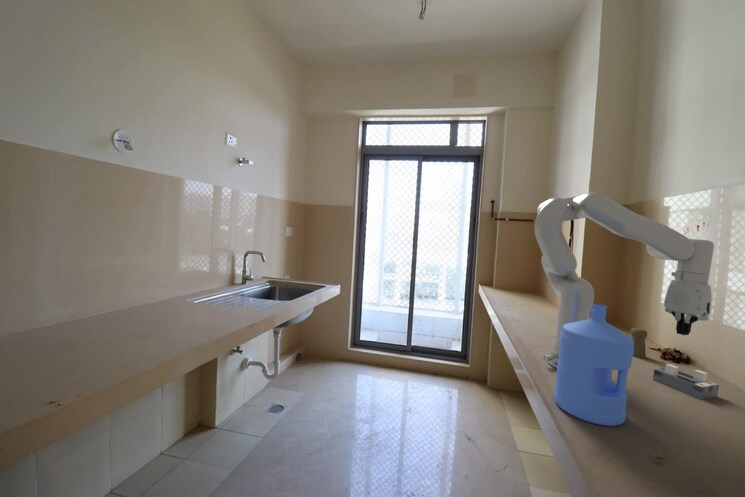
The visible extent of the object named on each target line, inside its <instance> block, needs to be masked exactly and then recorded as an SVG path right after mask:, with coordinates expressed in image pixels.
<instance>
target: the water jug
mask: <svg viewBox="0 0 745 497" xmlns="http://www.w3.org/2000/svg"><path fill="white" fill-rule="evenodd" d="M607 308H608V306H607V305H606V304H601V303H593V304H592V307H591V311H590V317H589V319H588V320H583V321H578V322H573V323H568V324H565V325H563V326H562V331H561V336H560V341H561V342H560V351H559V360H558V364H557V368H556V371H557V372H556V379H555V389H554V393H553V399H554V401H555V403H556V405H558V406H559V408H560V409H562V410H563V411H564V412H566V413H567V414H569V415H570V416H572V417H575V418H577V419H580V420H581V421H584V422H588V423H591V424H594V425H599V426H604V427H605V426H606V427H610V426H611V427H615V426H620V425H622V424H623V423H625V421H626V416H627V401H628V393H627V392H628V391H626V389H627V388H626V386H627V378H628V371H629V370H630V369H631V368H632V363H633V362H632V361H633V353H634V340H633V339H632V338H631V337H632V336H630V335H629V334H626V333H625V332H623V331H621V330H620V329H618V328H617V327H615V326H613V325H612V324H610V323H608V322H607V321H606V316H607ZM613 371H617V379H616V382H614V380H613V379H612V374H613Z"/></svg>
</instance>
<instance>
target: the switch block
mask: <svg viewBox="0 0 745 497" xmlns="http://www.w3.org/2000/svg"><path fill="white" fill-rule="evenodd" d="M652 380H654V381H655V382H657V383H660V384H662V385H666V386H668V387H670V388H673V389H675V390H678V391H680V392H682V393H685V394H686V395H687V394H688V395H689V396H692V397H695V398H697V399H700V400H704V399H711V398H716V397H718V393H719V386H720V385H719V384H717V383H715V382H712V381H708V380H707V382H704V383H702V382H700V381H697V380H694V379H693V375H691V374H689V373H685V372H683V371H680V370H678V376H677V377H674V376H672V375H669V374H666V373H665V367H664V368H662V367H661V368H655V369H653V376H652Z"/></svg>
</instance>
